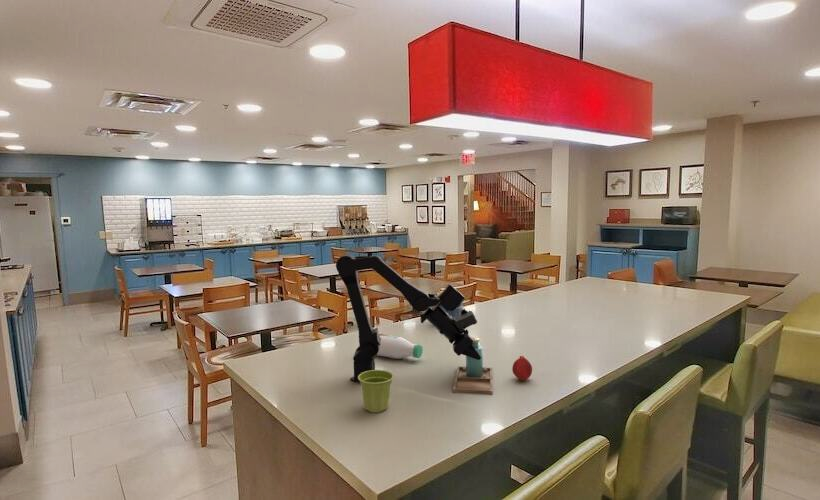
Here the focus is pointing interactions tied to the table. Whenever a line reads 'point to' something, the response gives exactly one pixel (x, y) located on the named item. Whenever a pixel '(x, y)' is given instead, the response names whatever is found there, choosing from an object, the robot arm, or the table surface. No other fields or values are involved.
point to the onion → (522, 368)
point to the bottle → (475, 362)
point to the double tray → (473, 382)
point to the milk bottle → (398, 347)
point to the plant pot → (376, 389)
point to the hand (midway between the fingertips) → (478, 355)
